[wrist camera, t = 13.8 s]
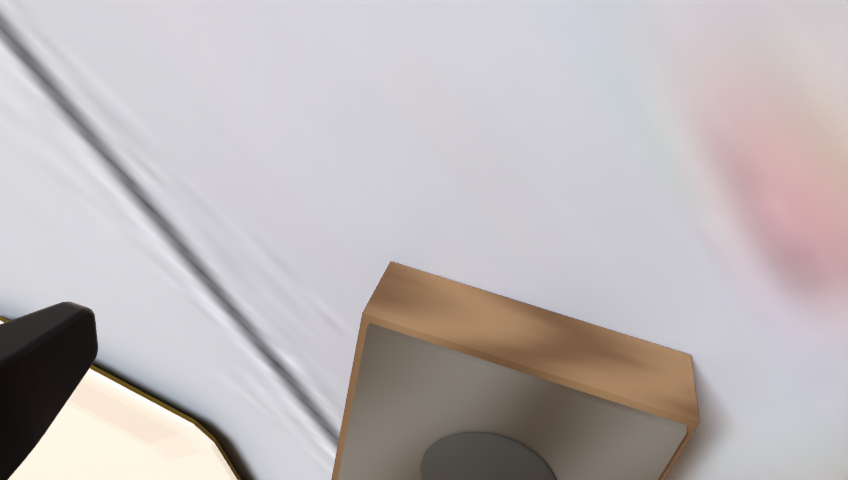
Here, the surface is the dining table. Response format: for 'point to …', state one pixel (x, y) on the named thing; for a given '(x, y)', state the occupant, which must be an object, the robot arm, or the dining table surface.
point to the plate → (123, 439)
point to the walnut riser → (507, 385)
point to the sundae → (482, 459)
